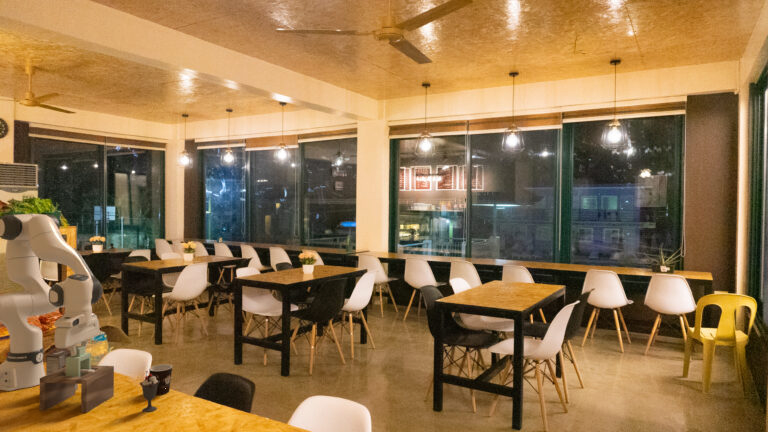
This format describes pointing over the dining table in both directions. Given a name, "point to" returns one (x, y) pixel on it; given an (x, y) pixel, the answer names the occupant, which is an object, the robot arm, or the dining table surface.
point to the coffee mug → (162, 377)
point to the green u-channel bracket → (78, 362)
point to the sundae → (149, 390)
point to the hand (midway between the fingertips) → (78, 353)
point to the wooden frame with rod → (93, 387)
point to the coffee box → (57, 362)
